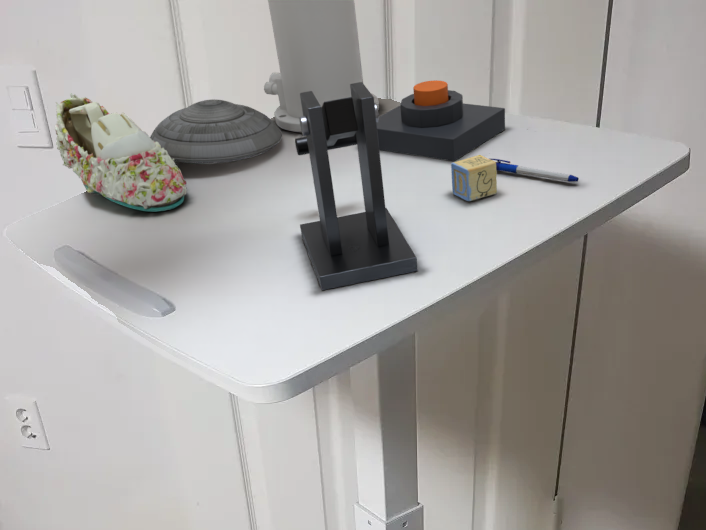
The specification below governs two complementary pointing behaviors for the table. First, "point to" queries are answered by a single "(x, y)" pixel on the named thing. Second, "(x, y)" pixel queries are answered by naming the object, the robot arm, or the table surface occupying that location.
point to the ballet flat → (116, 157)
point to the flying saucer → (216, 133)
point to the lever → (335, 126)
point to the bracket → (356, 229)
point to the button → (430, 93)
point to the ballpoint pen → (533, 171)
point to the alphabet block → (474, 178)
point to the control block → (438, 127)
